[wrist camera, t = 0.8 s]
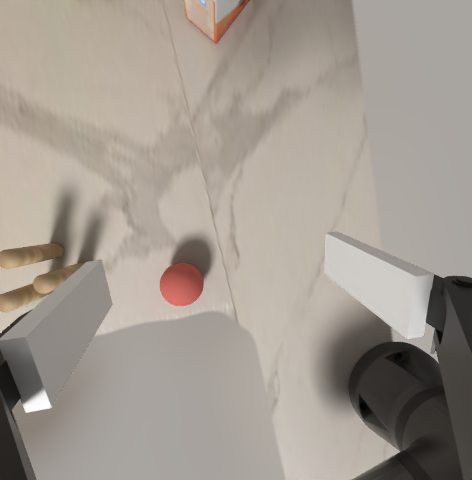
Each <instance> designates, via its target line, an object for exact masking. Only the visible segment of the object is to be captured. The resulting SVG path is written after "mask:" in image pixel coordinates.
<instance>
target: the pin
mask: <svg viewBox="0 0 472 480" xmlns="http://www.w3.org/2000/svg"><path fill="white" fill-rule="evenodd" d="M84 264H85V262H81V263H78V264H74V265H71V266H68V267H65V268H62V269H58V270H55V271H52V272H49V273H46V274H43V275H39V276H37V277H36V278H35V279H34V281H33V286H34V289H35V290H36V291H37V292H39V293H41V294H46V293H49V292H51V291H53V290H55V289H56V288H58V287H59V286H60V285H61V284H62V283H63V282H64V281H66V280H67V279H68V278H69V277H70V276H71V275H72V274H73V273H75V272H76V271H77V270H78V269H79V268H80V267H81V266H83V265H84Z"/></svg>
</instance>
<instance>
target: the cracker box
mask: <svg viewBox="0 0 472 480" xmlns="http://www.w3.org/2000/svg"><path fill="white" fill-rule="evenodd" d="M183 1H184V7H185V13H186V17H187V19H189V20H190V21H191V22H192V23H193V24H194V25H195V26H197V27H198V28H199V29H200V30H201V31H202V32H203V33H205V34H206V35H207V36H208V37H209V38H210V39H212V40H213V41H214V42H215V43H217V42H218V41H219V39H220V38H221V37H222V35H223V34H224V33H225V31H226V30H227V29H228V28H229V26H230V25H231V23H232V22H233V21H234V20H235V18H236V17H237V16H238V14H239V13H240V12H241V10H242V9H243V8H244V7H245V5H246V4H247V3H248V1H249V0H183Z"/></svg>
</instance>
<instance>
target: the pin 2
mask: <svg viewBox="0 0 472 480" xmlns="http://www.w3.org/2000/svg"><path fill="white" fill-rule="evenodd" d="M53 291H54V290H53ZM53 291H51V292H49V293H46V294H41V293H39V292H37V291H36V290H35V289H34V286H33V284H30V285H27V286H24V287H21V288H18V289H15V290H12V291H9V292H7V293H4V294H1V295H0V311H2V312H10V311H13V310H15V309H17V308H19V307H22V306H24V305H26V304H28V303H31V302H33V301H35V300H37V299H40V298H42V297H44V296H46V295H49V294H51V293H52V292H53Z"/></svg>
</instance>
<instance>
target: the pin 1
mask: <svg viewBox="0 0 472 480" xmlns="http://www.w3.org/2000/svg"><path fill="white" fill-rule="evenodd" d="M63 252H64V249H63V247H62V245H61V244H59V243H50V244H43V245H36V246H29V247H23V248H16V249H9V250H3V251H1V252H0V266H1V267H2V268H4V269H12V268H16V267H20V266H25V265H29V264H33V263H37V262H41V261H45V260H50V259H54V258H58V257H60V256H62V255H63Z"/></svg>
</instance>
